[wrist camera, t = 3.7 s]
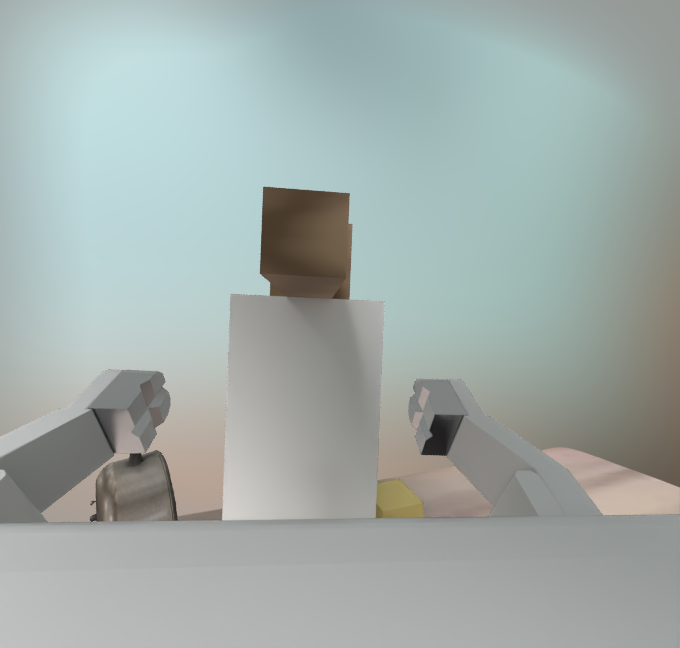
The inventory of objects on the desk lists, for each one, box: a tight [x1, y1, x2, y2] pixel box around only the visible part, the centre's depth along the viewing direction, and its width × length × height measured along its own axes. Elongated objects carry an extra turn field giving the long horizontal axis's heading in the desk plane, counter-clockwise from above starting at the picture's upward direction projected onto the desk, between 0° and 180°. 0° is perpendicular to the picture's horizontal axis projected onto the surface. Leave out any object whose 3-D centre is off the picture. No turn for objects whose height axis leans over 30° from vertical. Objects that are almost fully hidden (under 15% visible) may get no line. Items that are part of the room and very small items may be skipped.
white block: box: [222, 294, 384, 520], centre depth 29 cm, size 12×12×26 cm
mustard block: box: [376, 479, 424, 518], centre depth 33 cm, size 5×5×5 cm
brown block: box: [260, 187, 352, 300], centre depth 23 cm, size 7×22×7 cm, turn 5°
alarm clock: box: [90, 450, 178, 522], centre depth 24 cm, size 11×5×16 cm, turn 41°
